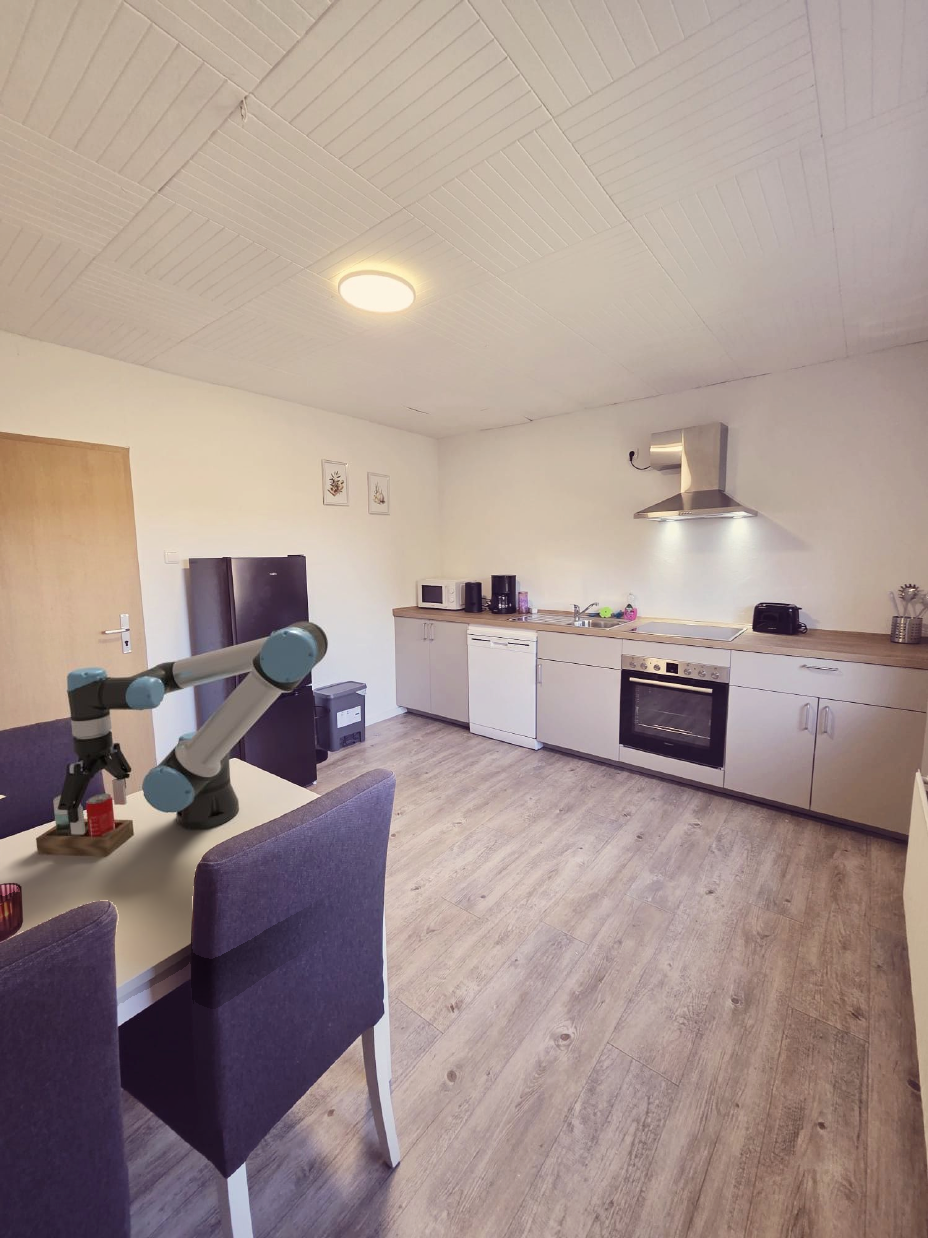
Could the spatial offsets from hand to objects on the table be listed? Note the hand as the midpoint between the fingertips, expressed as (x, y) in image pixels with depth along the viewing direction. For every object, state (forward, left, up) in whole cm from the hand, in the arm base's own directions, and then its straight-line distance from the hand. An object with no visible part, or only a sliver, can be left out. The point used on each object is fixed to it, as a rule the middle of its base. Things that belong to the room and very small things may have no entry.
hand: (100, 818), depth 123 cm
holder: (+4, 0, -7) cm, 8 cm away
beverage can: (0, 0, -7) cm, 7 cm away
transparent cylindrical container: (+8, 0, -7) cm, 11 cm away
